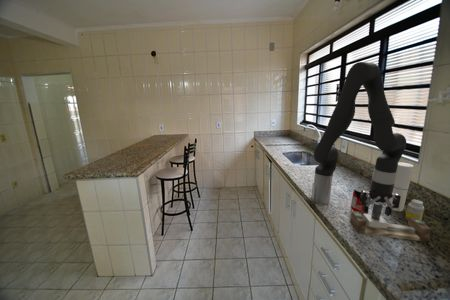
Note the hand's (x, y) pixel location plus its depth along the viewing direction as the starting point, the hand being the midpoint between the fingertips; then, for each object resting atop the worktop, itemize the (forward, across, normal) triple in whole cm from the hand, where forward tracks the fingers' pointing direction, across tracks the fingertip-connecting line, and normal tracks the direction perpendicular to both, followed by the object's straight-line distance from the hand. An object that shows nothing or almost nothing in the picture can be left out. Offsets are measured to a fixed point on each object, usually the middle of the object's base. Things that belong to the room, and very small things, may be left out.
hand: (376, 213), depth 84 cm
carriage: (+5, 0, 0) cm, 5 cm away
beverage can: (+8, 0, +16) cm, 18 cm away
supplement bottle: (+8, +22, +12) cm, 26 cm away
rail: (+8, +5, 0) cm, 9 cm away
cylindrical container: (+8, +20, +23) cm, 32 cm away
